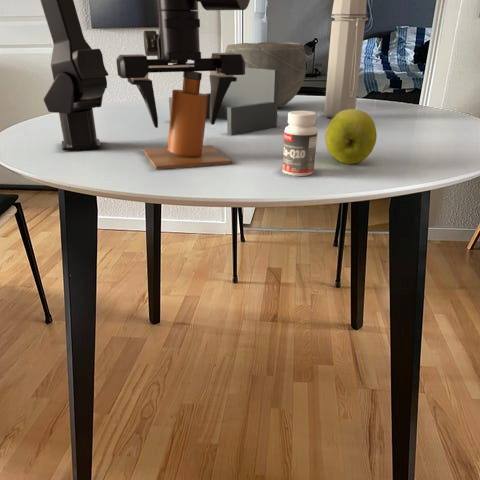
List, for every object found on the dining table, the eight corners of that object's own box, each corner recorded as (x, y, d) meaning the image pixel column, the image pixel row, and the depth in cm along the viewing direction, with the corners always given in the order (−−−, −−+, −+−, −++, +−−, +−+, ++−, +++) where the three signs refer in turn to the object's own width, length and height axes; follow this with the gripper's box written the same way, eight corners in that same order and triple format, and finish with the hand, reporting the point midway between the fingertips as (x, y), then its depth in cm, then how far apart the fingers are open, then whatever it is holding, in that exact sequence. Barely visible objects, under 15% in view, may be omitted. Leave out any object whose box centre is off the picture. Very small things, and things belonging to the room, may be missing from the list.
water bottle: (317, 115, 120) (326, -9, 107) (345, 113, 122) (358, -8, 110) (336, 121, 113) (349, -11, 100) (366, 119, 115) (382, -11, 102)
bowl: (296, 101, 140) (300, 40, 133) (310, 113, 122) (315, 43, 114) (222, 101, 139) (221, 40, 131) (225, 114, 121) (224, 43, 113)
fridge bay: (231, 135, 99) (231, 73, 93) (170, 121, 112) (166, 66, 106) (276, 127, 107) (279, 69, 101) (215, 115, 119) (213, 64, 114)
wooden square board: (231, 163, 79) (231, 160, 79) (156, 169, 76) (155, 166, 75) (211, 148, 89) (211, 145, 88) (144, 152, 85) (143, 149, 85)
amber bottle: (205, 157, 80) (215, 76, 75) (171, 154, 78) (178, 70, 73) (196, 150, 85) (205, 72, 79) (164, 146, 83) (171, 67, 77)
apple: (323, 169, 76) (328, 113, 72) (323, 155, 84) (327, 104, 80) (375, 171, 75) (383, 114, 71) (370, 157, 83) (377, 105, 79)
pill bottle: (276, 173, 74) (279, 113, 70) (291, 166, 77) (295, 109, 73) (304, 178, 72) (309, 116, 67) (319, 171, 75) (324, 112, 71)
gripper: (224, 12, 81) (226, 115, 89) (107, 11, 76) (119, 120, 84) (246, 11, 72) (246, 125, 80) (114, 10, 67) (128, 132, 75)
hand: (184, 125), depth 80 cm, fingers open, 9 cm apart
